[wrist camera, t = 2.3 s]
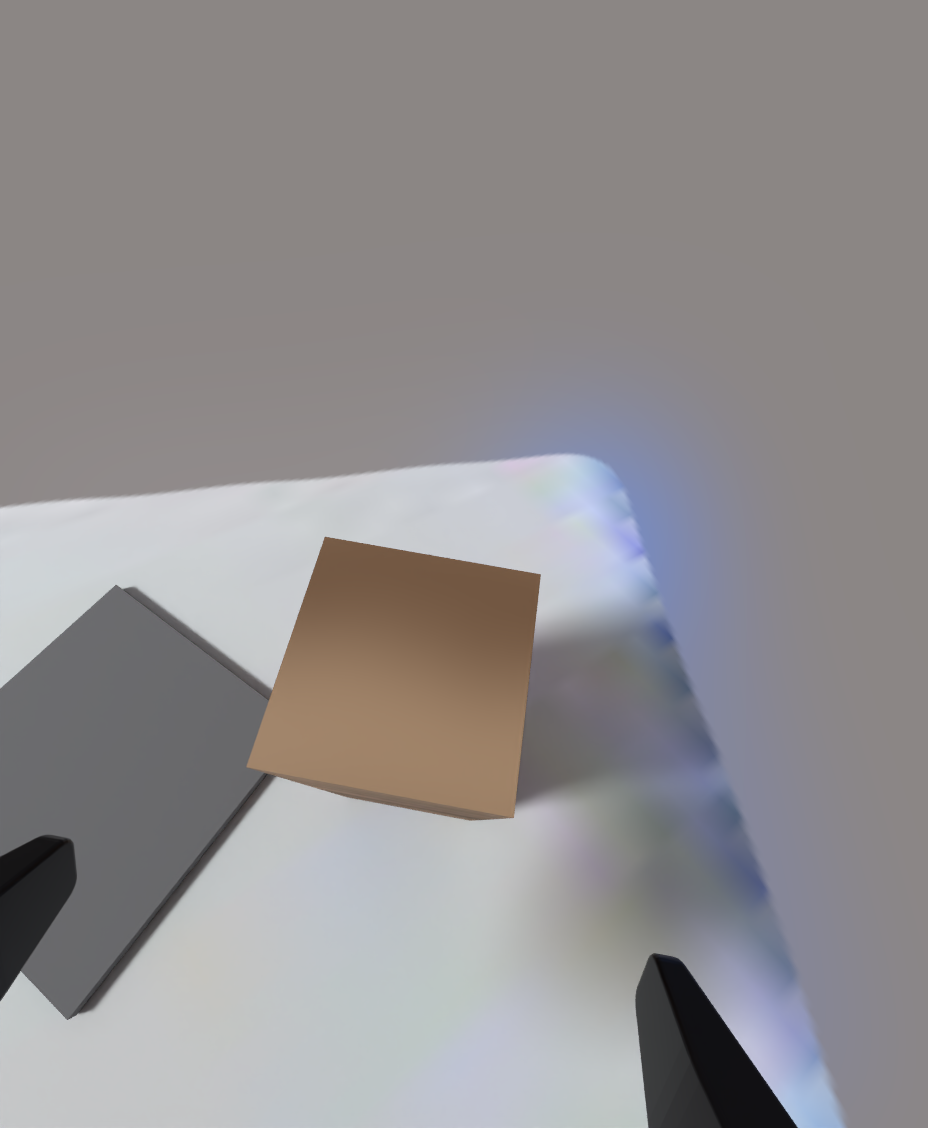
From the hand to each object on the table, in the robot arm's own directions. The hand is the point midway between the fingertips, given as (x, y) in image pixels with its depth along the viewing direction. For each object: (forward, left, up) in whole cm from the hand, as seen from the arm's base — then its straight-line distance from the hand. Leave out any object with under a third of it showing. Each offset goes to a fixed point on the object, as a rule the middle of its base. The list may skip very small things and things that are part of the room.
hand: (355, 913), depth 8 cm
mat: (-3, +11, -11) cm, 16 cm away
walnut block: (+4, +2, -11) cm, 11 cm away
